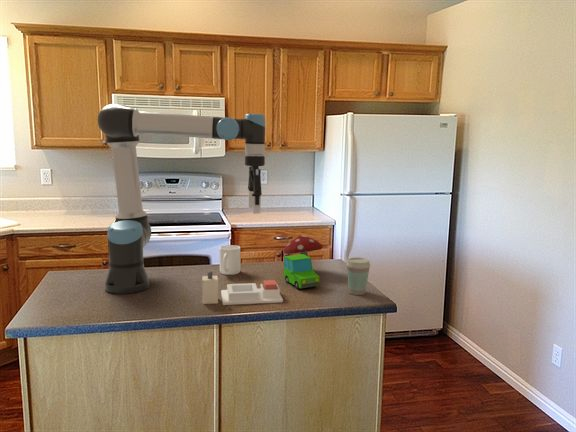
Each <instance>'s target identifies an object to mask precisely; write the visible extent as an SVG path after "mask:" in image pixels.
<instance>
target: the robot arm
mask: <svg viewBox="0 0 576 432" xmlns="http://www.w3.org/2000/svg"><path fill="white" fill-rule="evenodd" d="M97 125H98V128H99V129H100V131H101V132H102V133H103V134H104V135H105V141H106V144H107V145H108V146H109V147H110V148H111V154H112V163H113V169H114V170H113V171H114V179H115V180H114V181H115V189H116V199H117V206H118V213H117V214H116V215H115V222H113V223H111V224H110V225H109V226H108V227H107V233H106V234H107V243H108V245H107V247H108V262H109V263H108V265H109V266H108V272H107V274H106V279H105V281H104V290H105V292H108V293H111V294H118V295H119V294H120V295H123V294H134V293H139V292H142V291H145V290H147V289H149V287H150V278H149V276H148V274H147V271H146V268H145V266H144V247H145V246H146V245H147V244H148V243H149V242H150V239H151V236H152V227H151V225H150V223H149V218H148V213H147V212H146V211H145V210H144V209H143V200H142V191H141V190H142V189H141V183H140V182H141V181H140V173H139V164H138V163H139V162H138V156H137V146H138V144H140V135H153V136H165V137H167V136H168V137H169V136H170V137H183V138H184V137H185V138H186V137H187V138H198V139H199V138H200V139H214V140H223V141H233V140H244V155H245V156H244V165H245V166H246V167H248V166H249V168H248V183H247V184H248V185H247V186H248V187H247V189H248V209H250V208H251V209H252V214H255V215H256V214H261V199H262V198H261V196H262V195H263V194H262V182H261V181H262V180H261V179H262V177H261V176H262V175H261V172H262V170H261V169H260V168H259V167H263V166H265V165H266V164H265V162H266V161H265V160H266V158H265V157H266V156H264V155H265V153H266V152H265V151H266V149H267V146H266V116H265V115H264V114H262V113H246V114H245V117H244V118H232V117H229V116H228V117H226V116H225V117H222V116H221V117H220V116H209V115H208V116H205V115H193V114H192V115H191V114H183V113H182V114H181V113H180V114H178V113H166V112H163V113H162V112H152V111H151V112H150V111H141V110H139V109H138V108H137V107H136V108H135V107H130V106H129V105H124V104H123V105H122V104H118V103H117V104H116V103H111V104H107V105H105V106H104V107H102V108H101V109H100V111H99V113H98V115H97Z"/></svg>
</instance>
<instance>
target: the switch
mask: <svg viewBox="0 0 576 432" xmlns="http://www.w3.org/2000/svg"><path fill="white" fill-rule="evenodd" d="M262 284H263V286H264V289H265V290H272V289H277V285H278V283H277V282H276V279H269V280H268V279H266V280H265V279H264V280H263V283H262Z"/></svg>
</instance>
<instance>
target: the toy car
mask: <svg viewBox="0 0 576 432" xmlns="http://www.w3.org/2000/svg"><path fill="white" fill-rule="evenodd" d="M308 256H309V255H308ZM308 256H306V255H304V254H300V253H299V254H291V255H285V256H284V258H283V280H285V282H286V284H292V285H294V288H295V289H296V290H300V289H306V288H316V287H319V286H320V276H319V275H318V274H317V273H316V272H315V268H313V262H312V258H311V257H310V256H309V257H308Z"/></svg>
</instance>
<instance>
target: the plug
mask: <svg viewBox="0 0 576 432" xmlns="http://www.w3.org/2000/svg"><path fill="white" fill-rule="evenodd" d="M201 278H202V279H201V280H202V285H201V286H202V288H201V290H202V305H205V304H206V305H207V304H209V305H210V304H219V280H218V275H213V271H207V275H202V277H201Z"/></svg>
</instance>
